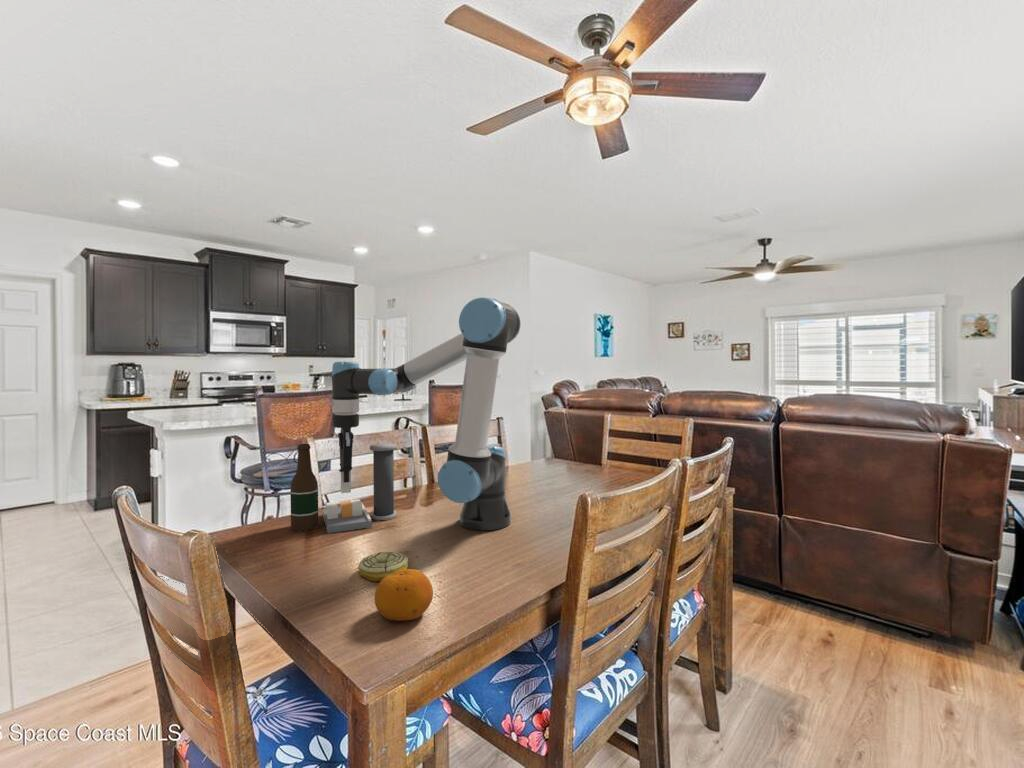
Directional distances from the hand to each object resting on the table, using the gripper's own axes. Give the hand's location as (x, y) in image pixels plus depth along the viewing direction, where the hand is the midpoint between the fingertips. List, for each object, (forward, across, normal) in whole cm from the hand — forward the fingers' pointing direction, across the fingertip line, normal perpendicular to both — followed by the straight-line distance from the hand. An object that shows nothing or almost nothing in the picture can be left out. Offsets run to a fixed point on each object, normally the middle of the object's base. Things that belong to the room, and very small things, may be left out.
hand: (345, 492), depth 144 cm
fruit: (+9, +61, +4) cm, 62 cm away
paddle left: (+7, 0, -4) cm, 8 cm away
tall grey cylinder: (+9, 0, +11) cm, 14 cm away
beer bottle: (+9, +1, -11) cm, 15 cm away
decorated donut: (+9, +41, +4) cm, 42 cm away
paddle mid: (+7, 0, 0) cm, 7 cm away
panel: (+9, 0, 0) cm, 9 cm away
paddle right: (+7, 0, +3) cm, 7 cm away
